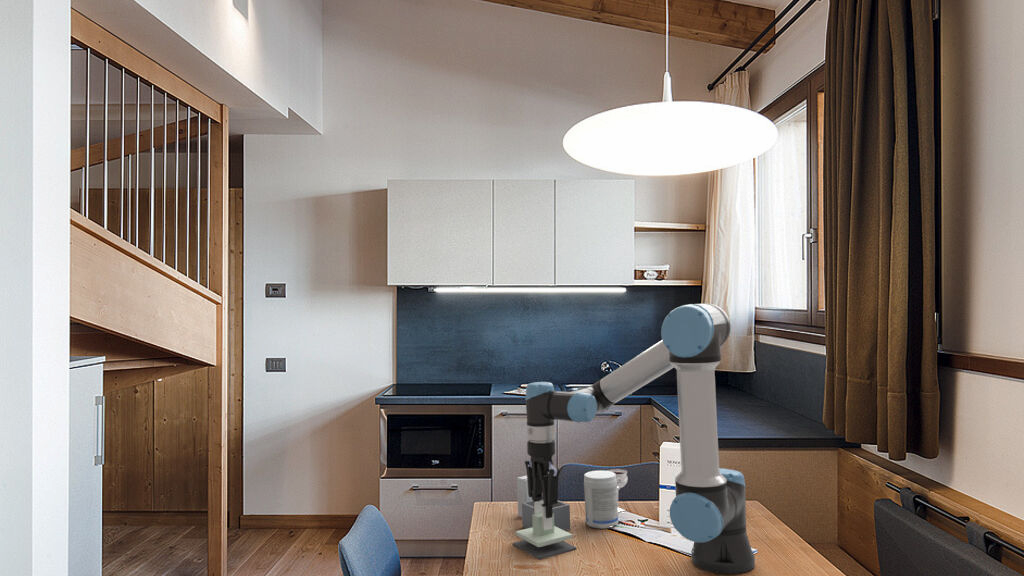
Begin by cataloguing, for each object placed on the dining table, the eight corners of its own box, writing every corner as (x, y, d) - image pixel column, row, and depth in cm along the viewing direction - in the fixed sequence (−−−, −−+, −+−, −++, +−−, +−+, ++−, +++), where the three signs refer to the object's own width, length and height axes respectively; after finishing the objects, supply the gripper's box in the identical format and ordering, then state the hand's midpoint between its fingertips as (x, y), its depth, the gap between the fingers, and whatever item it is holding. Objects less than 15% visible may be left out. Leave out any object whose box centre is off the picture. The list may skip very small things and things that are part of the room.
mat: (576, 549, 183) (576, 547, 183) (539, 559, 177) (539, 557, 177) (548, 535, 194) (548, 533, 194) (512, 544, 188) (512, 542, 188)
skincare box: (532, 512, 215) (531, 473, 216) (541, 515, 212) (540, 476, 212) (517, 516, 212) (515, 476, 212) (526, 520, 208) (524, 479, 208)
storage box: (570, 529, 199) (569, 504, 199) (541, 536, 194) (541, 511, 194) (550, 520, 207) (549, 496, 207) (522, 526, 202) (521, 502, 202)
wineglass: (623, 515, 210) (622, 475, 210) (603, 511, 214) (602, 473, 214) (631, 508, 216) (630, 470, 216) (611, 505, 219) (610, 468, 219)
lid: (572, 541, 184) (571, 515, 184) (538, 550, 178) (537, 523, 178) (549, 529, 193) (548, 505, 193) (515, 537, 187) (515, 512, 187)
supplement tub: (625, 523, 202) (623, 473, 202) (604, 532, 196) (603, 480, 196) (599, 516, 209) (597, 468, 209) (578, 524, 203) (577, 474, 203)
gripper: (513, 437, 191) (515, 522, 190) (546, 447, 177) (549, 538, 177) (535, 433, 195) (538, 516, 194) (569, 443, 181) (572, 532, 181)
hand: (543, 527), depth 186 cm, fingers closed on lid, 3 cm apart
